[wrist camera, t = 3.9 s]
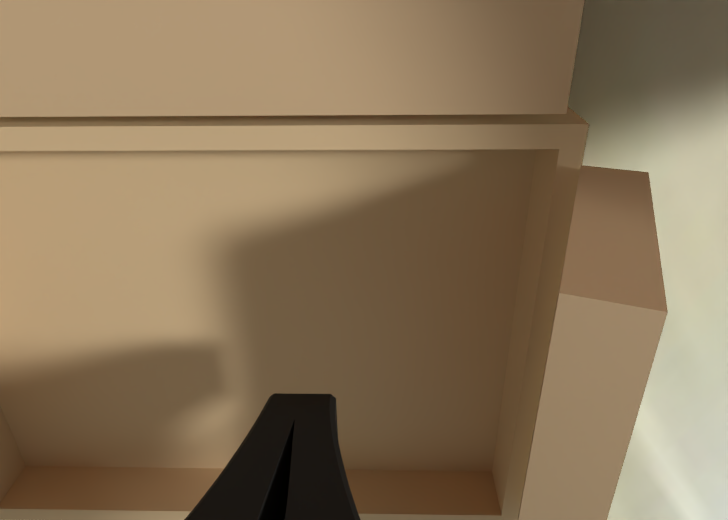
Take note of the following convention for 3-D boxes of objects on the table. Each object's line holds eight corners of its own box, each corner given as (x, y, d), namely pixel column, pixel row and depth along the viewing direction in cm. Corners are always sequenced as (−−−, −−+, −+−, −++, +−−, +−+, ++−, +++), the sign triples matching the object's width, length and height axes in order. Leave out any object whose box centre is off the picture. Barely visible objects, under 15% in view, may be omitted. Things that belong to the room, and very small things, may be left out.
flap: (560, 537, 16) (541, 743, 12) (517, 523, 16) (482, 718, 12) (648, 172, 11) (667, 312, 7) (580, 165, 11) (559, 292, 7)
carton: (503, 472, 19) (519, 539, 16) (18, 466, 19) (-27, 531, 17) (590, -99, 11) (640, -111, 9) (-219, -87, 11) (-355, -96, 9)
